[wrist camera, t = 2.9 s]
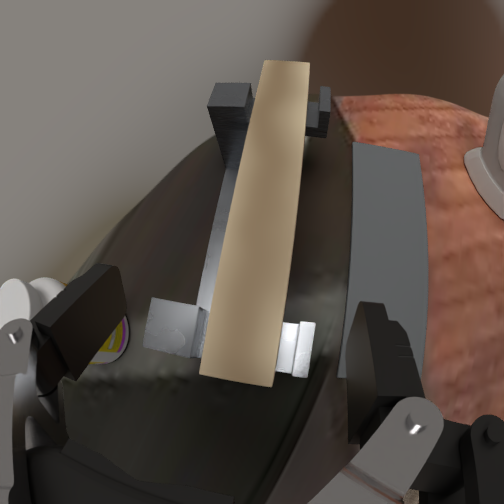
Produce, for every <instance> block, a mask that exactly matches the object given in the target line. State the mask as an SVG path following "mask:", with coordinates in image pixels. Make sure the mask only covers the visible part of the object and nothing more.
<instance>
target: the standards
mask: <svg viewBox="0 0 504 504" xmlns="http://www.w3.org/2000/svg"><path fill="white" fill-rule="evenodd" d="M254 102H255V98H253V96H252V89H251V83H216V84H215V86H214V89H213V91H212V94H211V97H210V99H209V102H208V105H207V108H208V111H209V114H210V118H211V121H212V124H213V128H214V131H215V134H216V137H217V141H218V144H219V147H220V150H221V154H222V157H223V160H224V163H225V167H226V171H225V175H224V180H223V184H222V188H221V192H220V196H219V201H218V205H217V209H216V214H215V218H214V223H213V227H212V232H211V236H210V241H209V245H208V250H207V255H206V259H205V264H204V269H203V274H202V279H201V284H200V289H199V294H198V299H197V304H196V306H194V305H189V304H184V303H178V302H173V301H168V300H163V299H158V298H153V297H152V299H151V304H150V309H149V314H148V319H147V324H146V329H145V335H144V340H143V347H147V348H151V349H154V350H158V351H162V352H166V353H170V354H175V355H179V356H183V357H188V358H202V353H203V348H204V342H205V336H206V331H207V325H208V320H209V314H210V309H211V304H212V298H213V293H214V288H215V282H216V277H217V272H218V267H219V262H220V257H221V252H222V247H223V242H224V237H225V232H226V227H227V222H228V218H229V213H230V208H231V203H232V199H233V194H234V189H235V185H236V180H237V176H238V171H239V166H240V162H241V157H242V153H243V149H244V144H245V140H246V136H247V131H248V127H249V123H250V118H251V114H252V110H253V106H254ZM329 118H330V87H322V86H321V87H320V97H319V103H314V102H308V106H307V119H306V131H305V136H311V137H320V138H326V137H327V130H328V124H329ZM314 330H315V323H311V322H303V321H301V322H300V323H299V324H292V323H284V322H283V326H282V332H281V339H280V345H279V352H278V358H277V364H276V370H275V371H278V372H285V373H291V374H292V376H295V377H304V378H307V376H308V370H309V364H310V357H311V351H312V344H313V337H314Z"/></svg>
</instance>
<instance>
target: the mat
mask: <svg viewBox="0 0 504 504" xmlns="http://www.w3.org/2000/svg"><path fill="white" fill-rule="evenodd" d="M360 301H366V302H376V303H383V304H384V305H385V308H386V312H387V315H388V319H389V320H393V321H398V322H399V324H400V325H401V326H402V327H403V328H404V330H405V331H406V332H407V335H408V338H409V341H410V344H411V346H410V348H412V351H413V355H414V356H413V358H415V362H416V365H417V369H418V372H419V376H420V380H421V374H422V366H423V358H424V349H425V338H426V325H427V308H428V240H427V223H426V210H425V199H424V190H423V181H422V174H421V166H420V160H419V154H415V153H411V152H406V151H402V150H397V149H392V148H386V147H381V146H376V145H370V144H364V143H358V142H353V143H352V219H351V242H350V259H349V273H348V286H347V297H346V307H345V316H344V325H343V333H342V341H341V349H340V356H339V363H338V369H337V376H336V377H338V378H347V377H346V360H345V351H346V344H347V339H348V336H349V333H350V329H351V326H352V323H353V320H354V316H355V313H356V309H357V306H358V304H359V302H360Z"/></svg>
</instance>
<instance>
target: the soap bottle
mask: <svg viewBox="0 0 504 504" xmlns="http://www.w3.org/2000/svg"><path fill="white" fill-rule="evenodd" d="M464 164H465V166H466V168H467V171H468V173H469V175H470V178H471V180H472V182H473V183H474V185H475V187H476V189H477V191H478V193H479V194H480V195H481V196H482V198H483V199H484V200H485V202H486V203H487V204H488V206H489V207H490V208H491V209H492V210H493V211H494V212H495V213H496V214H497V215H498V216H499V217H500V218H502V219H504V75H503V76H502V78H501V79H500V81H499V83H498V85H497V86H496V89H495V93H494V96H493V101H492V106H491V111H490V116H489V120H488V125H487V131H486V136H485V140H484V145H483V147H479V148H475V149H472V150H470V151H468V152H466V154H465V156H464Z"/></svg>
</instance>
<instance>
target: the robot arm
mask: <svg viewBox="0 0 504 504" xmlns="http://www.w3.org/2000/svg"><path fill="white" fill-rule="evenodd" d="M125 313H126V299H125V294H124V290H123V285H122V280H121V275H120V271H119V269H118V267H116V266H112V265H107V264H101V263H97V264H95V265H94V266H93V267H92V268H90V269H89V270H88V271H87V272H86V273H85V274H84V275H82V276H80V277H78V278H77V279H75V280H73V281H72V282H70V283H69V284H68V285H67V286H66V287H65V288H64V290H63V291H61V292H59V293H58V294H57V295H56V297H54V298H53V299H52V300H51V301H50V302H49V303H48V304H47V305H46V306H44V307H43V308H42V309H41V310H40V311H39V312H38V313H37V314H36V315H35V316H34V317H33V318H32V319H31V320H30V321H29V320H27V319H24V318H19V319H14V320H11V321H9V322H8V323H6V324H5V325H4V326H3V327H2V328H1V329H0V504H234V496H229V495H224V494H219V493H215V492H210V491H206V490H202V489H198V488H194V487H191V486H187V485H172V484H161V483H152V482H144V481H139V480H136V479H134V478H133V477H131V476H130V475H129V474H127V473H126V472H124V471H123V470H122V469H120V468H119V467H117V466H116V465H115V464H113V463H112V462H111V461H110V460H108V459H107V458H106V457H104V456H103V455H102V454H100V453H98V452H95V451H93V450H91V449H89V448H87V447H85V446H83V445H81V444H79V443H77V442H75V441H73V440H72V439H70V438H69V436H68V433H67V430H66V422H65V411H64V396H63V385H62V383H61V381H60V380H61V379H62V377H63V376H65V377H67V378H69V379H72V380H74V381H77V379H78V378H79V377H80V375H81V374H82V372H83V371H84V370H85V368H86V367H87V366H88V364H89V363H90V362H91V360H92V359H93V358H94V356H95V355H96V353H97V352H98V351H99V349H100V348H101V347H102V346H103V344H104V343H105V342H106V340H107V339H108V338H109V336H110V335H111V334H112V332H113V331H114V330H115V329H116V327H117V326H118V325H119V323H120V322H121V321H122V319H123V318H124V316H125ZM410 346H411V344H410V341H409V338H408V335H407V332H406V331H405V330H404V328H403V327H402V326H401V325H400V324H399V322H398V321H393V320H389V319H388V315H387V312H386V308H385V305H384V304H383V303H376V302H366V301H360V302H359V304H358V306H357V309H356V313H355V316H354V320H353V323H352V326H351V329H350V333H349V336H348V339H347V344H346V351H345V360H346V377H347V400H348V444H360V451H359V452H358V453H357V455H356V456H355V457H354V458H353V459H352V460H351V461H350V462H349V464H348V465H346V466H345V467H344V468H343V469H342V470H341V471H340V472H339V473H338V474H337V475H336V476H335V477H334V478H333V479H332V480H331V481H330V482H329V483H328V484H327V485H326V486H325V487H324V488H323V489H322V490H321V491H320V492H319V493H318V494H317V495H316V496H315V497H314V498H313V499H312V500H311V501H310V502H308V503H307V504H404V501H403V497H404V495H405V494H406V492H407V491H408V489H414V490H419V504H504V421H503V420H501V419H500V418H498V417H497V416H494V415H483V416H481V417H479V418H477V420H476V421H475V422H474V423H473V424H472V425H471V426H470V425H465V424H461V423H456V422H452V421H448V420H445V419H443V416H442V414H441V412H440V410H439V409H438V408H437V406H436V405H434V404H433V403H432V402H430V401H429V400H427V399H425V396H424V392H423V388H422V384H421V380H420V376H419V372H418V369H417V365H416V362H415V358H413V356H414V355H413V351H412V348H410Z"/></svg>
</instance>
